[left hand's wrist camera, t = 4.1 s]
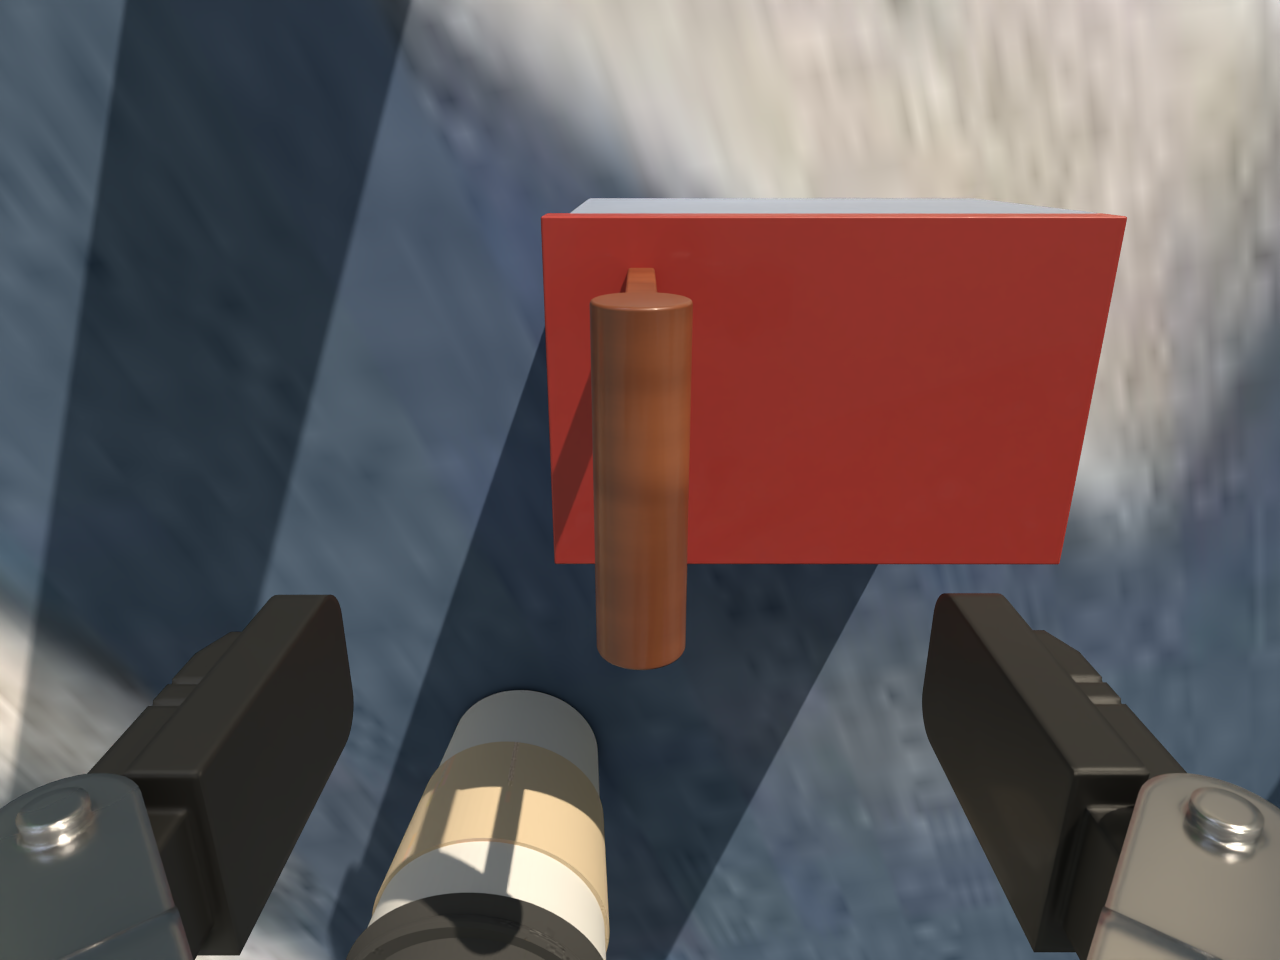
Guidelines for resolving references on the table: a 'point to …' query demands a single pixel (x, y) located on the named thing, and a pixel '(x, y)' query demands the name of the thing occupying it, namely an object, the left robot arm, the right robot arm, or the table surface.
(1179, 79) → the table surface
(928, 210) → the chest
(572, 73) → the table surface
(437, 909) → the coffee cup
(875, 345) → the lid
